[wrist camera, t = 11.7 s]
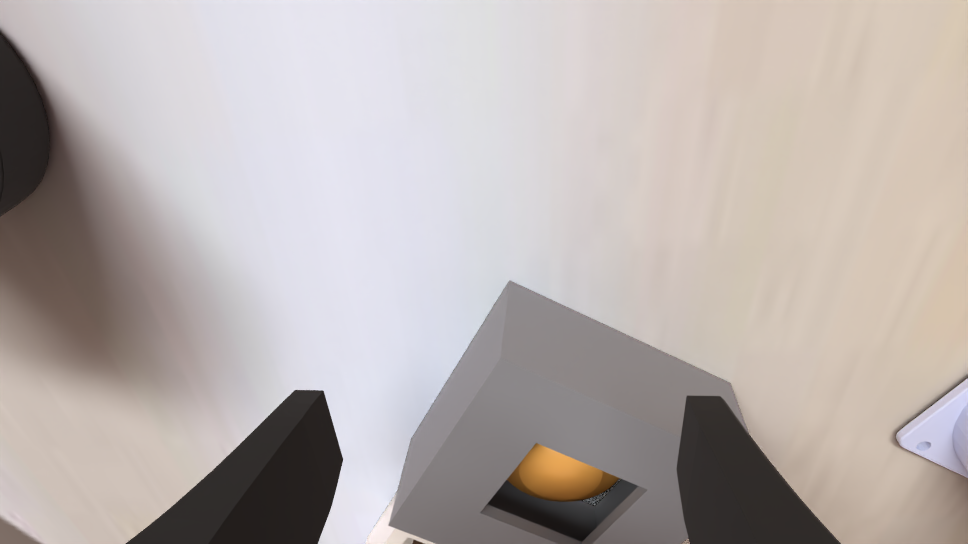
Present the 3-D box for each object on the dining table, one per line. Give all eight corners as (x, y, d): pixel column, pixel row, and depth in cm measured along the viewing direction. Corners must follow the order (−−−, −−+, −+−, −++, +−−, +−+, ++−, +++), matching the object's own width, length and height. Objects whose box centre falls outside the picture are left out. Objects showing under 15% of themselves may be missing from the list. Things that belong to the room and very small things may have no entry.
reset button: (647, 430, 23) (652, 459, 22) (581, 500, 26) (583, 529, 25) (535, 381, 23) (534, 408, 21) (478, 458, 25) (475, 485, 24)
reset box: (730, 383, 24) (763, 473, 20) (598, 515, 29) (605, 607, 25) (509, 280, 22) (500, 358, 19) (410, 439, 28) (388, 525, 24)
